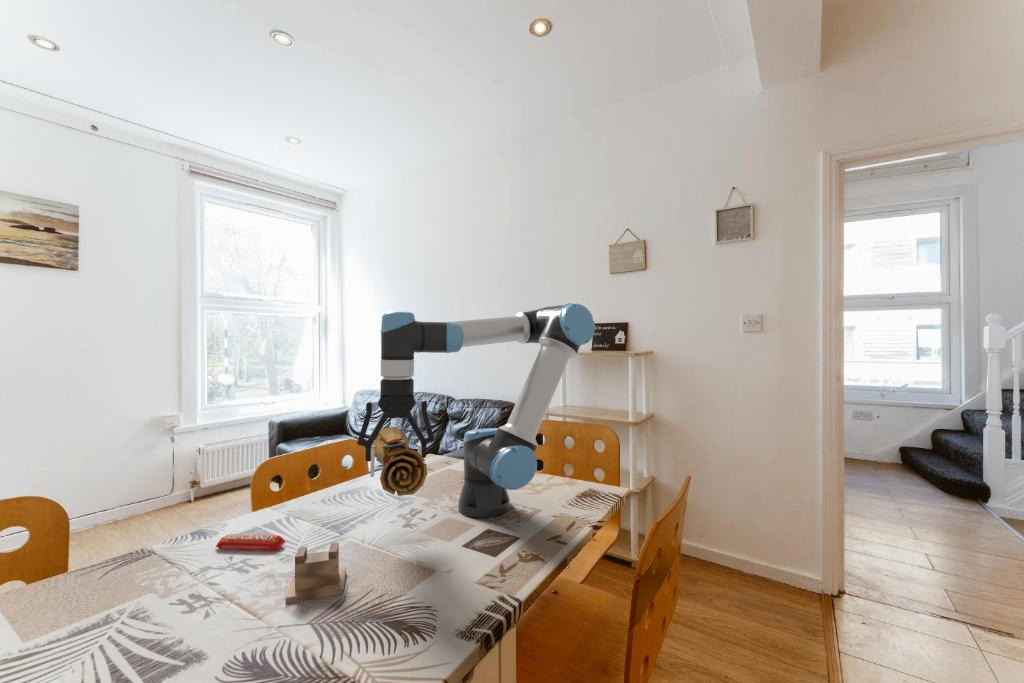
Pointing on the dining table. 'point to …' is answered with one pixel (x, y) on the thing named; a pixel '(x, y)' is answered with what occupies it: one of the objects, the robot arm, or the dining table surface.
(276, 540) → the candy bar
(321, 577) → the ridge block
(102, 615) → the dining table surface
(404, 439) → the scroll
